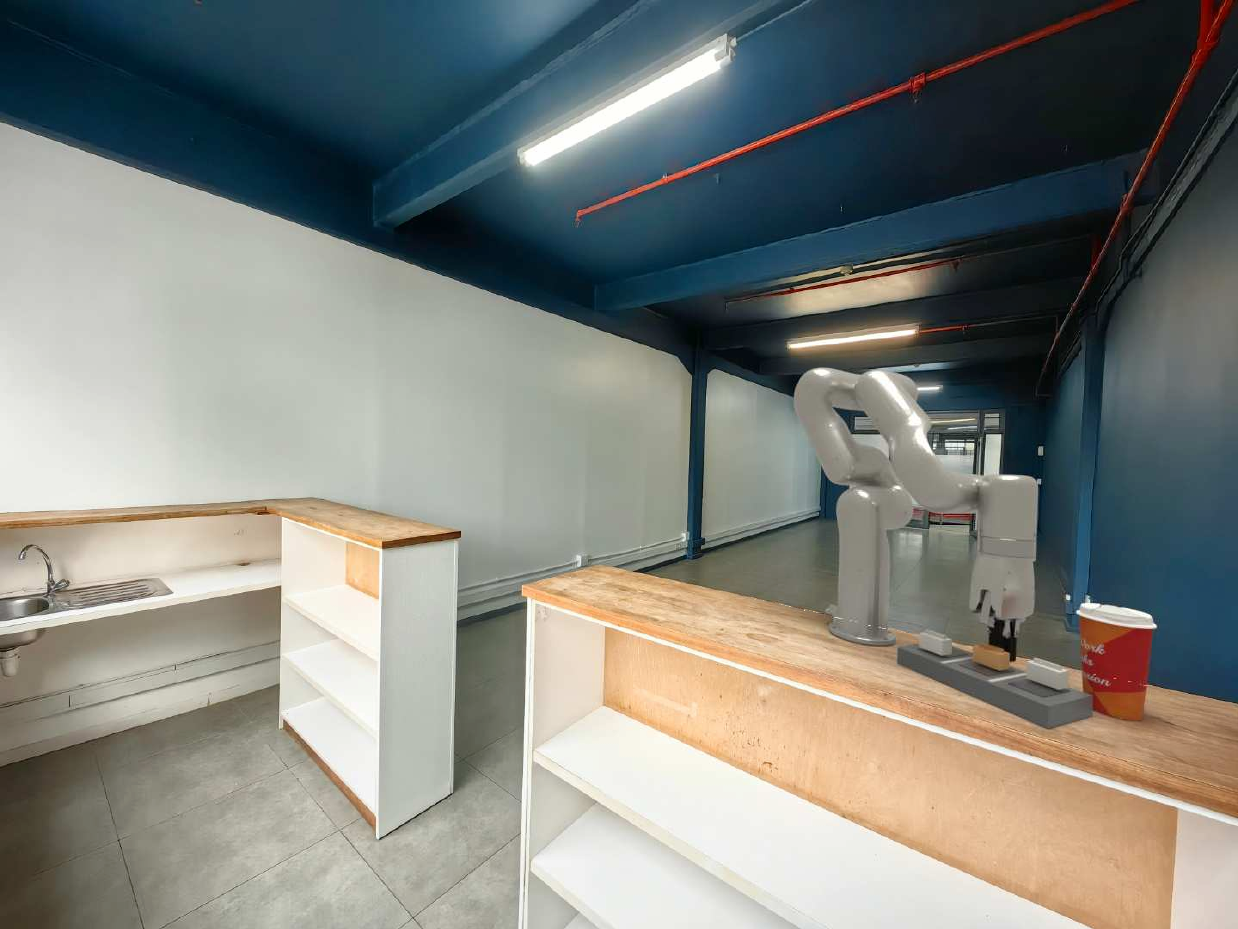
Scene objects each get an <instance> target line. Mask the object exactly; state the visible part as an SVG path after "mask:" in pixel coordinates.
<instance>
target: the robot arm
mask: <svg viewBox="0 0 1238 929" xmlns="http://www.w3.org/2000/svg"><path fill="white" fill-rule="evenodd" d="M918 398H919V390H918V386H917V384H916V383H915V381H913V379H912V378H911V377H908V376H907V375H903V374H900V373H897V372H893V371H889V370H885V369H872V370H869V371H866V372H864V373H863V374H856V373H851V372H848V371H844V370H840V369H836V368H832V367H831V368H830V367H817V368H812V369H810V370H807V371H806V372H805V373H803V375H802V376H801V377H800V379H799V380H798V382H797V384H796V386H795V390H794V394H793V407H794V411H795V416H796V417H797V420H798V422H799V423H800V425H801V427H802V428H803V430H804V432H805V434H806V436H807V437H808V439H809V442H810V444H811V447H812V449H813V452H814V453H815V455H816V457H817V459H818V462H819V464H820V466H821V468H822V470H823V472H824V474H825V476H826V478H827V479H828V480H829V481H830V482H832V483H833V484H836V485H840V486H850V488H848V489H847V490H845V491H843V492H842V493H841V494H840V496H839V498H838V500H837V502H836V507H835V508H836V509H835V510H836V511H835V512H836V513H835V514H836V519H837V526H838V533H839V534H838V536H839V553H838V555H839V556H838V558H839V560H838V581H837V583H838V588H837V605H835V604H830V605H828V607H827V608H825V610H824V612H825V614H827V615H830V616H832V621H830V622H829V624H828V630H829V632H830V633H831V634H833V635H835V636H836V637H837V638H838V637H839V638H841V639H843V640H847V641H849V642H850V641H851V642H853V643H858V644H863V645H870V646H890V645H894V644H896V643H897V635H896V634H895V632H893V631H892V632H891V630H890V629H889V609H890V608H889V607H890V606H889V604H890V603H889V601H890V580H891V579H890V571H891V549H890V548H891V547H890V543H889V538H888V535H887V531H888V530H889V531H892V530H899V529H901V528H904V527H905V526H907V525H908V524H909V523H910V521H911V520H912V518H913V515H914V504H913V501H912V499H913V500H914V501H915V502H916V503H917V504H918V505H919V506H920V507H921V508H923V509H924V510H926V511H928V512H931V513H934V514H938V515H939V514H940V515H941V514H946V515H948V514H952V515H953V514H954V515H958V514H959V515H963V514H964V515H965V514H978V515H977V516H978V518H977V540H976V541H977V543H976V544H977V547H976V556H975V560H974V562H973V567H972V573H971V580H970V589H969V590H970V591H969V600H968V602H969V603H968V605H969V606H968V607H969V610H970V612H971V613H973V614H980V616H979V624H980V625H983V626H986V630H987V633H988V644H989V645H993V646H996V647H999V648H1002V649H1003V651H1005V652H1008V653H1010V663H1015V662H1016V661H1017V648H1018V646H1017V643H1018V638H1017V637H1019V633H1020V627H1021V624H1022V623H1025V622H1026V621H1027V617H1030V616H1031V615H1033V614H1034V610H1035V600H1036V594H1035V593H1036V588H1035V586H1036V585H1035V583H1036V582H1035V570H1034V562H1036V557H1037V530H1038V529H1037V527H1038V505H1039V504H1038V502H1039V501H1038V499H1039V498H1038V497H1039V484H1038V481H1037V480H1036V479H1035V478H1034V477H1033V476H1029V475H1022V474H1020V475H1019V474H987V475H982V474H973V473H966V472H960V471H959V472H957V471H949V469H947V467H946V465H944V464H943V463H942V461H941V460H940V458H939V457H938V456H937V454H936V453H935V452H934V450H933V449H932V447H931V445H930V443H929V441H928V432H929V431H930V430H931V428H932V424H933V423H932V420H931V418H930V417H929V415H928V414H927V413H926V412H925V411H924V409H923V408H922V407H921V406H920V405H919V404H918V402H917V401H918ZM835 408H838V409H843V410H849V411H860V412H864V413H865V415H866V416H867V417H868V418H869V420H870V421H871V423H872V424H873V426H874V427H875V428H876V429H877V430H878V432H879V433H880V435H881V437H882V438H883V439H884V440H885V442H886V443H887V445H888V453H889V455H888V456H889V457H888V456H887V455H886V454H885V452H883V451H882V450H880V449H879V448H877V447H874V446H872V445H866V444H860V443H858V442H857V441H856V439H855V438H854V437H853V435H852V433H851V431H850V429H849V427H848V425H847V423H846V422H845V420H844V419H843V418H842V417H841V416H840V414H839V413H838V412H837V411H836V410H835ZM889 458H890V459H889ZM852 486H853V487H852ZM833 616H834V617H839V618H843V619H838V618H834V617H833ZM850 620H852V621H850ZM855 621H857V622H855ZM868 625H871V626H868ZM879 627H881V628H879ZM882 628H886V629H882ZM887 629H888V630H887ZM889 630H890V631H889Z"/></svg>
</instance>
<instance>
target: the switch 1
mask: <svg viewBox="0 0 1238 929" xmlns="http://www.w3.org/2000/svg"><path fill="white" fill-rule="evenodd" d="M918 635H919V636H918V637H919V639H918V644H919V647H921V648H923V649H926V650H929V651H931V652H934V653H936V654H939V655H942V656H943V655H949V654H952V646H953V639H952V638H948V637H947V635H945V634H943V633H939V632H936V631H934V630H931V629H925V631H923V632H919V634H918Z"/></svg>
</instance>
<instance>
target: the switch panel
mask: <svg viewBox="0 0 1238 929" xmlns="http://www.w3.org/2000/svg"><path fill="white" fill-rule="evenodd" d="M896 656H897V657H896V664H898V665H900V666H902V667H904V668H907V669H908V670H911V671H913V672H914V673H915V672H916V673H918V674H920V675H922V676H925V677H928V678H930V679H932V680H934V681H936V682H938V683H940V684H941V683H942V684H944V685H946V686H949V687H950V688H952V687H953V689H955V688H956V689H955V690H957V691H959V690H960V691H959V692H962V693H963V694H966V693H967V694H966V695H969V696H971V697H974V698H975V699H978V700H980V701H983V702H984V703H985V702H986V703H988V704H989V705H992V706H995V707H997V708H998V709H1002V710H1004V711H1006V712H1008V713H1011V714H1013V715H1015V716H1017V717H1020V718H1021V719H1025V720H1026V721H1029V722H1032V723H1034V724H1036V725H1038V726H1041V727H1043V728H1045V729H1048V730H1050V729H1052V728H1053V729H1054V728H1056V727H1059V726H1062V725H1066V724H1070V723H1073V722H1077V721H1081V720H1084V719H1087V718H1092V717H1093V710H1092V708H1093V695H1090V694H1087V693H1085V692H1083V690H1080V689H1079V690H1078V689H1076V688H1072V687H1070V686H1069V687H1068V688H1065V689H1060V690H1058V689H1055V688H1052V687H1049V686H1047V685H1044V684H1041V683H1038V682H1036V681H1033V680H1030V679H1027V678H1026V671H1025V670H1022V669H1019V668H1016V667H1013V666H1010V665H1009V669H1006V670H1000V671H999V670H997V669H994V668H991V667H988V666H986V665H983V664H980V663H978V662H975V661H972V659H973V652H971V651H968V650H966V649H962V648H959V647H957V646H954V645H952V654H949V655H943V656H942V655H939V654H936V653H934V652H931V651H929V650H926V649H923V648H921V647H919V643H917V644H916V643H915V644H914V643H913V644H909V645H901V646H900V645H899V646H897V655H896Z"/></svg>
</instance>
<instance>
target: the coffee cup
mask: <svg viewBox="0 0 1238 929" xmlns="http://www.w3.org/2000/svg"><path fill="white" fill-rule="evenodd" d="M1075 613H1076V614H1077V615H1078V617H1079V618H1078V620H1079V622H1078V623H1079V639H1080V640H1079V642H1080V644H1079V645H1080V661H1081V680H1082V692H1085V693H1087V694H1090V695H1093V708H1092V711H1094V712H1097V711H1098V712H1097V713H1099V712H1100V713H1099V714H1102V715H1105V716H1108V717H1111V718H1115V719H1118V718H1122V719H1121V720H1123V719H1125V720H1124V721H1128V720H1129V721H1130V722H1131V721H1132V722H1140V721H1142V720H1143V717H1144V716H1143V715H1144V712H1145V711H1144V710H1145V705H1146V704H1145V703H1146V696H1147V695H1146V694H1147V687H1148V686H1143V685H1148V678H1149V668H1150V662H1151V653H1152V652H1151V650H1152V642H1153V633H1154V629H1157V628H1158V626H1157V624H1155V623H1154V619H1153V616H1152V615H1151V614H1149V613H1146V612H1144V611H1140V610H1138V609H1137V610H1136V609H1131V608H1127V607H1123V606H1122V607H1120V606H1119V607H1118V606H1116V605H1111V604H1110V605H1109V604H1101V603H1093V602H1084V603H1080V606H1079V609H1077V610H1076V611H1075ZM1094 674H1096V675H1094ZM1114 678H1116V679H1114ZM1128 681H1131V682H1128ZM1140 684H1141V685H1140ZM1129 721H1128V722H1129Z"/></svg>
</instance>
